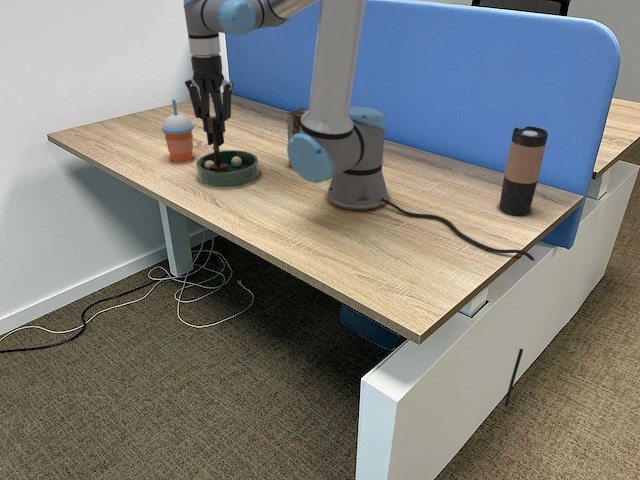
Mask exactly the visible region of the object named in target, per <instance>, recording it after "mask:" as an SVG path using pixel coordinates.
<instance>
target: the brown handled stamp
mask: <svg viewBox="0 0 640 480" xmlns="http://www.w3.org/2000/svg"><path fill="white" fill-rule="evenodd" d="M210 116H211V117H208V118H207V123H208V131H209V133H212V140H213V144H212V147H213V152H214V156H215V164H212V165H210V166H209V171H213V172H229V170H228V164H225V163H221V160H220V151H221V150H220V146H217V141H216V133H215V124H214V123H215V121H217V119H216V115H210Z"/></svg>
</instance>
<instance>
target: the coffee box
mask: <svg viewBox="0 0 640 480" xmlns="http://www.w3.org/2000/svg"><path fill="white" fill-rule="evenodd" d="M308 110H309V108H303V107H300V108H297V109H293V110H292V111H289V112H287V113H286V124H287V143H288V142H289V140H290V139H291V138H292V137H293V136H294V135H295V134H298V133H299V131H300V122H301V116H302V115H303V114H304V113H305V112H307V111H308ZM288 165H289V166H291V167H292V165H291V163H290V161H289V160H288Z"/></svg>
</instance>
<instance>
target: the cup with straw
mask: <svg viewBox="0 0 640 480" xmlns="http://www.w3.org/2000/svg"><path fill="white" fill-rule="evenodd" d="M172 109H173V114H170V115H169V116H167V117H166V118H165V119H164V122H163V124H162V125H161V131H162V133H164V135H165V136H164V138H165V143H166V146H167V151H168V153H169V155H170V160H171V162H172V161H173V162H174V163H184V162H189V161H191V160H192V159H193V156H194V155H193V150H194V138H193V137H194V136H193V130H194V123H193V122H192V121H190V119H189V118H188V117H187V116H186V115H184V114H180V113H178V109H177V102H176V99H172Z"/></svg>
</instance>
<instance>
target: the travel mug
mask: <svg viewBox="0 0 640 480" xmlns="http://www.w3.org/2000/svg"><path fill="white" fill-rule="evenodd" d="M548 136H549V133H548V131H547V130H546V129H543V128H541V127H536V126H531V125H530V126H526V127H523V128H519V127H515V128H513V130H512V135H511V140H510V145H509V149H508V150H509V151H508V155H507V160H506V164H505V169H504V175H503V181H502V186H501V187H502V188H501V193H500V199H499V210H500V211H501V212H503V213H504V214H506V215H509V216H515V217H523V216H526V215H528V214H529V212H530V211H531V207H532V203H533V199H534V197H535V192H536V190H537V189H536V188H537V185H538V182H539V181H538V180H539V178H540V177H539V176H540V172H541V167H542V163H543V159H544V154H545V149H546V146H547V140H548Z"/></svg>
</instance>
